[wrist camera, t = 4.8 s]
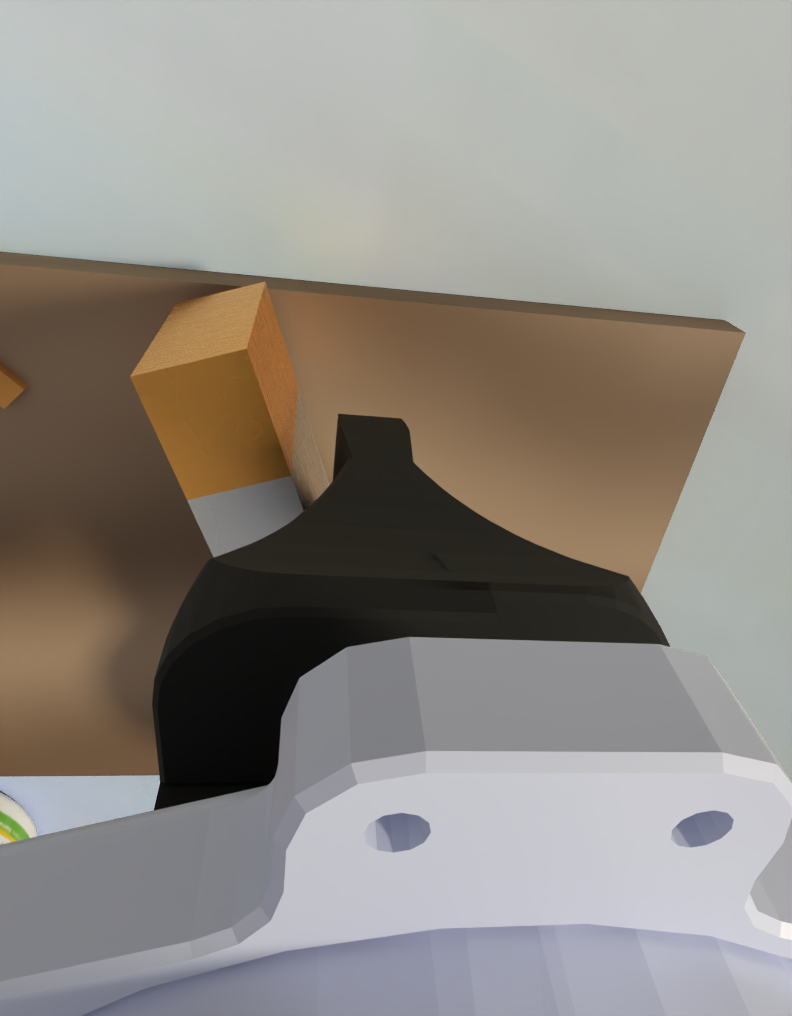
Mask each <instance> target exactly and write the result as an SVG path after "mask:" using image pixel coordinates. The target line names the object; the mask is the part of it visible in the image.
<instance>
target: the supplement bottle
mask: <svg viewBox="0 0 792 1016" xmlns="http://www.w3.org/2000/svg"><path fill="white" fill-rule="evenodd" d="M33 837H37V833H36V829H35V826H34V824H33V822H32V820H31V818H30V817H29V815H28V814H27V813H26V812H25V810H24V809H23V808H22V807H21V806H20V805H19V804H17V803H16V802H15V801H14V800H12V799H11V798H9V797H8V796H6V795H4V794H3V793H1V792H0V845H1V844H6V843H10V842H15V841H19V840H24V839H28V838H33Z"/></svg>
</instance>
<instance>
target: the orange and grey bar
mask: <svg viewBox="0 0 792 1016" xmlns="http://www.w3.org/2000/svg"><path fill="white" fill-rule="evenodd" d="M130 378H131V380H132V382H133V385H134V387H135V389H136V391H137V393H138V395H139V398H140V400H141V402H142V404H143V406H144V408H145V410H146V413H147V415H148V417H149V419H150V421H151V423H152V426H153V428H154V430H155V432H156V434H157V436H158V439H159V441H160V443H161V445H162V447H163V449H164V451H165V454H166V456H167V458H168V460H169V462H170V464H171V467H172V469H173V471H174V473H175V475H176V477H177V480H178V482H179V484H180V486H181V488H182V490H183V492H184V495H185V497H186V499H187V501H188V503H189V505H190V508H191V510H192V512H193V514H194V516H195V518H196V521H197V523H198V525H199V527H200V529H201V531H202V533H203V536H204V538H205V540H206V542H207V544H208V546H209V549H210V551H211V553H212V555H213V557H217V556H220V555H223V554H225V553H228V552H230V551H233V550H236V549H238V548H241V547H244V546H246V545H249V544H251V543H254V542H256V541H258V540H260V539H262V538H264V537H266V536H268V535H270V534H272V533H273V532H275V531H277V530H279V529H280V528H282V527H284V526H285V525H287V524H288V523H290V522H291V521H292V520H294V519H295V518H296V517H297V516H299V515H300V514H301V513H302V512H303V511H304V510H306V509H307V508H308V507H309V506H310V505H311V504H312V503H313V502H314V501H315V500H316V499H317V498H318V497H319V496H320V495H321V494H322V493H323V492H324V491H325V490H326V489H327V488H328V486H329V482H328V479H327V476H326V473H325V469H324V466H323V463H322V460H321V457H320V454H319V450H318V447H317V444H316V441H315V438H314V435H313V431H312V428H311V425H310V422H309V419H308V416H307V412H306V409H305V406H304V403H303V400H302V397H301V393H300V390H299V387H298V384H297V381H296V378H295V374H294V371H293V368H292V365H291V362H290V358H289V355H288V352H287V349H286V346H285V343H284V339H283V336H282V333H281V330H280V327H279V324H278V320H277V317H276V314H275V311H274V308H273V305H272V301H271V298H270V295H269V292H268V289H267V286H266V282H261V283H257V284H253V285H249V286H245V287H241V288H237V289H232V290H228V291H224V292H220V293H216V294H212V295H208V296H204V297H200V298H196V299H191V300H187V301H183V302H179V303H176V305H175V307H174V308H173V310H172V311H171V313H170V314H169V316H168V318H167V319H166V321H165V322H164V324H163V325H162V327H161V329H160V330H159V332H158V333H157V335H156V336H155V338H154V340H153V341H152V343H151V344H150V346H149V347H148V349H147V351H146V352H145V354H144V355H143V357H142V359H141V360H140V362H139V363H138V365H137V366H136V368H135V370H134V371H133V373H132V374H131V376H130Z"/></svg>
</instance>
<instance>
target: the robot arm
mask: <svg viewBox="0 0 792 1016" xmlns="http://www.w3.org/2000/svg"><path fill="white" fill-rule="evenodd" d="M152 709H153V718H154V728H155V737H156V747H157V756H158V765H159V775H160V786H159V791H158V795H157V799H156V803H155V808H154V811H150V812H145V813H141V814H136V815H132V816H127V817H123V818H118V819H114V820H109V821H105V822H100V823H96V824H91V825H87V826H82V827H78V828H73V829H69V830H64V831H60V832H55V833H51V834H46V835H42V836H37V837H33V838H28V839H24V840H19V841H15V842H10V843H6V844H1V845H0V1016H792V781H791V780H790V778H789V777H788V775H787V774H786V772H785V771H784V769H783V768H782V766H781V765H780V763H779V762H778V760H777V758H776V757H775V755H774V754H773V752H772V751H771V749H770V748H769V746H768V745H767V743H766V742H765V740H764V739H763V737H762V736H761V734H760V733H759V731H758V730H757V728H756V726H755V725H754V723H753V722H752V720H751V719H750V717H749V716H748V714H747V713H746V711H745V710H744V708H743V707H742V705H741V704H740V702H739V701H738V699H737V698H736V696H735V694H734V693H733V691H732V690H731V688H730V687H729V685H728V684H727V683H726V681H725V680H724V679H723V677H722V676H721V675H720V673H719V672H718V671H717V669H716V668H715V667H714V665H713V664H712V663H711V661H710V660H709V659H708V657H706V656H702V655H698V654H695V653H691V652H687V651H683V650H679V649H676V648H672V647H670V645H669V643H668V641H667V639H666V637H665V635H664V633H663V631H662V629H661V627H660V625H659V624H658V622H657V620H656V618H655V617H654V615H653V613H652V612H651V610H650V608H649V606H648V605H647V603H646V601H645V600H644V598H643V597H642V595H641V594H640V592H639V591H638V589H637V587H636V586H635V584H634V583H633V582H632V580H631V579H630V577H629V576H626V575H623V574H620V573H617V572H613V571H610V570H607V569H604V568H601V567H597V566H594V565H591V564H588V563H585V562H581V561H578V560H575V559H572V558H569V557H567V556H564V555H561V554H559V553H557V552H554V551H552V550H549V549H547V548H544V547H542V546H539V545H537V544H535V543H532V542H530V541H528V540H526V539H524V538H522V537H520V536H517V535H515V534H513V533H512V532H510V531H508V530H506V529H504V528H502V527H501V526H499V525H497V524H495V523H493V522H491V521H489V520H488V519H486V518H484V517H483V516H481V515H479V514H478V513H476V512H475V511H473V510H472V509H470V508H469V507H467V506H466V505H464V504H463V503H462V502H460V501H459V500H457V499H456V498H454V497H453V496H452V495H450V494H449V493H448V492H446V491H445V490H444V489H443V488H441V487H440V486H439V485H438V484H437V483H436V482H434V481H433V480H432V479H431V478H430V477H429V476H428V475H426V474H425V473H424V472H423V471H422V470H421V469H420V468H419V467H418V466H417V465H416V464H415V463H414V462H413V454H412V445H411V438H410V431H409V428H408V427H407V425H406V423H405V422H404V421H403V420H402V419H401V418H390V417H376V416H363V415H350V414H338V420H337V433H336V445H335V457H334V469H333V481H332V483H331V484H330V485H329V486H328V488H327V489H326V490H325V491H324V492H323V493H322V494H321V495H320V496H319V497H318V498H317V499H316V500H315V501H314V502H313V503H312V504H311V505H310V506H309V507H308V508H307V509H306V510H304V511H303V512H302V513H301V514H300V515H299V516H297V517H296V518H295V519H294V520H292V521H291V522H290V523H288V524H287V525H285V526H284V527H282V528H280V529H279V530H277V531H275V532H273V533H272V534H270V535H268V536H266V537H264V538H262V539H260V540H258V541H256V542H254V543H251V544H249V545H246V546H244V547H241V548H238V549H236V550H233V551H230V552H228V553H225V554H223V555H220V556H217V557H213V558H211V559H210V560H208V561H207V562H206V564H205V565H204V567H203V568H202V570H201V571H200V573H199V575H198V576H197V578H196V580H195V581H194V583H193V585H192V586H191V588H190V590H189V591H188V593H187V595H186V597H185V599H184V601H183V603H182V605H181V606H180V608H179V611H178V613H177V615H176V617H175V619H174V621H173V623H172V626H171V628H170V630H169V633H168V635H167V638H166V641H165V644H164V647H163V650H162V654H161V657H160V661H159V664H158V668H157V671H156V675H155V678H154V687H153V698H152Z"/></svg>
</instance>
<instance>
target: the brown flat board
mask: <svg viewBox="0 0 792 1016" xmlns="http://www.w3.org/2000/svg"><path fill="white" fill-rule="evenodd" d="M261 282H266V286H267V289H268V292H269V295H270V298H271V301H272V305H273V308H274V311H275V314H276V317H277V320H278V324H279V327H280V330H281V333H282V336H283V339H284V343H285V346H286V349H287V352H288V355H289V358H290V362H291V365H292V368H293V371H294V374H295V378H296V381H297V384H298V387H299V390H300V393H301V397H302V400H303V403H304V406H305V409H306V412H307V416H308V419H309V422H310V425H311V428H312V431H313V435H314V438H315V441H316V444H317V447H318V450H319V454H320V457H321V460H322V463H323V466H324V469H325V473H326V476H327V479H328V482H329V485H330V484H331V483H332V481H333V469H334V457H335V445H336V433H337V420H338V414H350V415H363V416H376V417H390V418H401V419H402V420H403V421H404V422H405V423H406V425H407V427H408V428H409V431H410V438H411V445H412V454H413V462H414V463H415V464H416V465H417V466H418V467H419V468H420V469H421V470H422V471H423V472H424V473H425V474H426V475H428V476H429V477H430V478H431V479H432V480H433V481H434V482H436V483H437V484H438V485H439V486H440V487H441V488H443V489H444V490H445V491H446V492H448V493H449V494H450V495H452V496H453V497H454V498H456V499H457V500H459V501H460V502H462V503H463V504H464V505H466V506H467V507H469V508H470V509H472V510H473V511H475V512H476V513H478V514H479V515H481V516H483V517H484V518H486V519H488V520H489V521H491V522H493V523H495V524H497V525H499V526H501V527H502V528H504V529H506V530H508V531H510V532H512V533H513V534H515V535H517V536H520V537H522V538H524V539H526V540H528V541H530V542H532V543H535V544H537V545H539V546H542V547H544V548H547V549H549V550H552V551H554V552H557V553H559V554H561V555H564V556H567V557H569V558H572V559H575V560H578V561H581V562H585V563H588V564H591V565H594V566H597V567H601V568H604V569H607V570H610V571H613V572H617V573H620V574H623V575H626V576H629V577H630V579H631V580H632V582H633V583H634V584H635V586H636V587H637V589H638V591H639V592H640V594H641V591H642V589H643V586H644V584H645V581H646V579H647V576H648V574H649V571H650V569H651V566H652V564H653V561H654V559H655V556H656V554H657V552H658V549H659V547H660V544H661V542H662V539H663V537H664V534H665V532H666V529H667V527H668V524H669V522H670V519H671V517H672V514H673V512H674V509H675V507H676V504H677V502H678V499H679V497H680V494H681V492H682V489H683V487H684V484H685V482H686V479H687V477H688V475H689V472H690V470H691V467H692V465H693V462H694V460H695V457H696V455H697V452H698V450H699V447H700V445H701V442H702V440H703V437H704V435H705V432H706V430H707V427H708V425H709V422H710V420H711V417H712V415H713V412H714V410H715V407H716V405H717V403H718V400H719V398H720V395H721V393H722V390H723V388H724V385H725V383H726V380H727V378H728V375H729V373H730V370H731V368H732V365H733V363H734V360H735V358H736V355H737V353H738V350H739V348H740V345H741V343H742V340H743V338H744V335H745V332H743V331H742V330H740V329H738V328H737V327H735V326H733V325H732V324H730V323H729V322H727V321H725V320H714V319H703V318H693V317H682V316H672V315H661V314H651V313H640V312H629V311H619V310H608V309H598V308H587V307H577V306H566V305H556V304H545V303H534V302H524V301H513V300H503V299H492V298H482V297H471V296H460V295H450V294H439V293H429V292H418V291H408V290H397V289H386V288H376V287H365V286H355V285H344V284H334V283H323V282H313V281H302V280H291V279H281V278H270V277H260V276H249V275H239V274H228V273H217V272H207V271H196V270H186V269H175V268H165V267H154V266H143V265H133V264H122V263H112V262H101V261H91V260H80V259H69V258H59V257H48V256H38V255H27V254H17V253H6V252H0V776H119V775H159V765H158V756H157V747H156V737H155V728H154V718H153V709H152V698H153V687H154V678H155V675H156V671H157V668H158V664H159V661H160V657H161V654H162V650H163V647H164V644H165V641H166V638H167V635H168V633H169V630H170V628H171V626H172V623H173V621H174V619H175V617H176V615H177V613H178V611H179V608H180V606H181V605H182V603H183V601H184V599H185V597H186V595H187V593H188V591H189V590H190V588H191V586H192V585H193V583H194V581H195V580H196V578H197V576H198V575H199V573H200V571H201V570H202V568H203V567H204V565H205V564H206V562H207V561H208V560H210V559H211V558H213V555H212V553H211V551H210V549H209V546H208V544H207V542H206V540H205V538H204V536H203V533H202V531H201V529H200V527H199V525H198V523H197V521H196V518H195V516H194V514H193V512H192V510H191V508H190V505H189V503H188V501H187V499H186V497H185V495H184V492H183V490H182V488H181V486H180V484H179V482H178V480H177V477H176V475H175V473H174V471H173V469H172V467H171V464H170V462H169V460H168V458H167V456H166V454H165V451H164V449H163V447H162V445H161V443H160V441H159V439H158V436H157V434H156V432H155V430H154V428H153V426H152V423H151V421H150V419H149V417H148V415H147V413H146V410H145V408H144V406H143V404H142V402H141V400H140V398H139V395H138V393H137V391H136V389H135V387H134V385H133V382H132V380H131V378H130V376H131V374H132V373H133V371H134V370H135V368H136V366H137V365H138V363H139V362H140V360H141V359H142V357H143V355H144V354H145V352H146V351H147V349H148V347H149V346H150V344H151V343H152V341H153V340H154V338H155V336H156V335H157V333H158V332H159V330H160V329H161V327H162V325H163V324H164V322H165V321H166V319H167V318H168V316H169V314H170V313H171V311H172V310H173V308H174V307H175V305H176V303H179V302H183V301H187V300H191V299H196V298H200V297H204V296H208V295H212V294H216V293H220V292H224V291H228V290H232V289H237V288H241V287H245V286H249V285H253V284H257V283H261Z"/></svg>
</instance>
